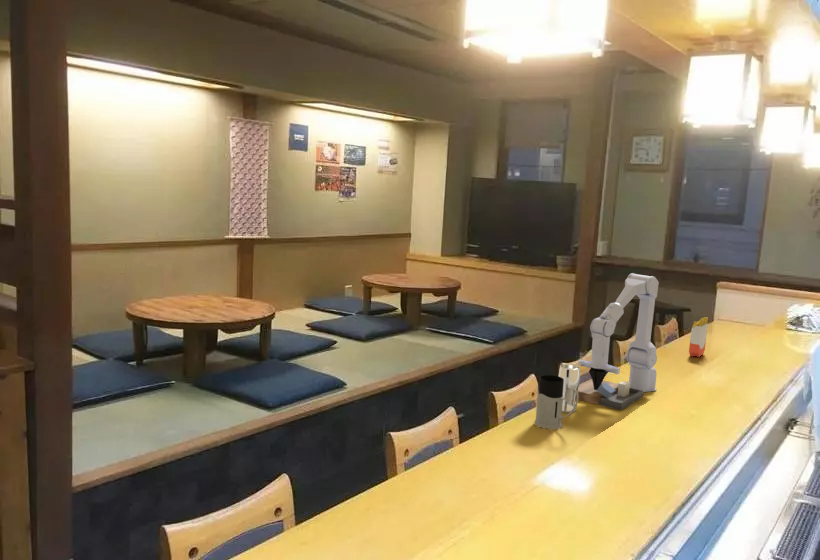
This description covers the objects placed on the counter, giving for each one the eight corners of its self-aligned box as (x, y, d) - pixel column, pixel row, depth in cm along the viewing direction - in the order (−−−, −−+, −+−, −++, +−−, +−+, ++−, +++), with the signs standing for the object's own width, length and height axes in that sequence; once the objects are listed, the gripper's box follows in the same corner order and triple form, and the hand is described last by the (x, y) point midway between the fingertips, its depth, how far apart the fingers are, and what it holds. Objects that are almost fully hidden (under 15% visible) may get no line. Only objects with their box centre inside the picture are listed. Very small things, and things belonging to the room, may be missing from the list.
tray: (599, 404, 238) (600, 398, 237) (622, 392, 253) (622, 386, 253) (621, 410, 233) (621, 403, 233) (642, 397, 248) (643, 390, 248)
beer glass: (577, 414, 227) (581, 370, 225) (556, 412, 228) (559, 368, 226) (576, 407, 234) (580, 364, 232) (555, 405, 235) (559, 363, 233)
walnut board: (568, 397, 245) (569, 389, 245) (592, 385, 260) (593, 377, 260) (599, 404, 238) (599, 396, 237) (621, 392, 253) (622, 384, 253)
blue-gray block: (596, 390, 240) (600, 385, 239) (601, 388, 244) (605, 382, 243) (607, 398, 238) (610, 393, 237) (612, 395, 242) (615, 390, 241)
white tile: (618, 383, 246) (625, 384, 244) (623, 380, 249) (630, 382, 247) (617, 395, 246) (624, 397, 245) (622, 392, 250) (628, 394, 248)
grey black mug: (544, 417, 222) (547, 372, 220) (582, 430, 212) (586, 383, 210) (528, 423, 216) (531, 377, 214) (567, 436, 206) (571, 388, 204)
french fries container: (687, 356, 312) (691, 318, 310) (694, 352, 321) (698, 314, 318) (697, 358, 310) (702, 319, 307) (704, 354, 318) (708, 316, 316)
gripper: (575, 350, 242) (572, 387, 244) (615, 358, 233) (611, 396, 235) (584, 346, 248) (581, 383, 250) (623, 354, 239) (620, 392, 241)
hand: (596, 389), depth 243 cm, fingers closed
